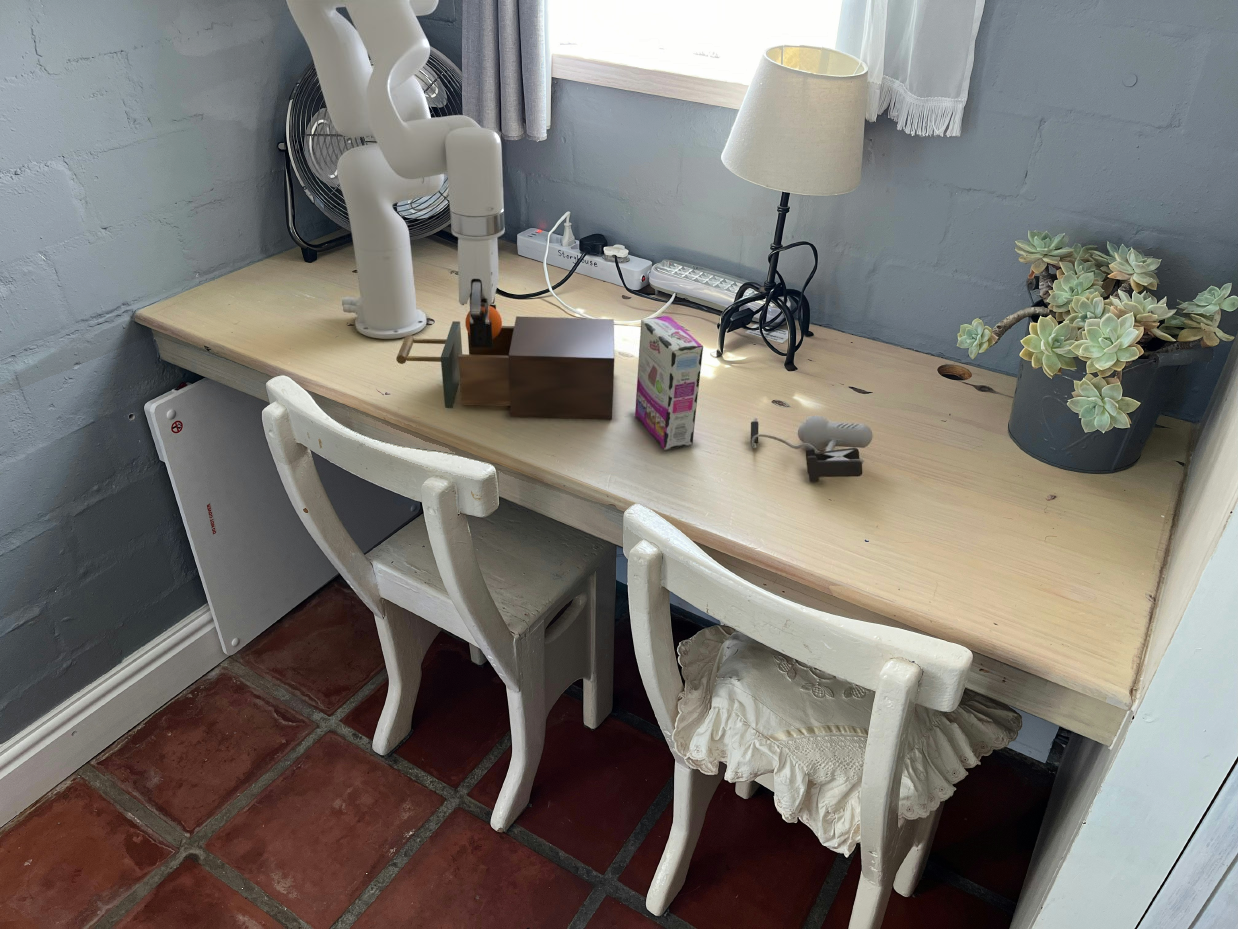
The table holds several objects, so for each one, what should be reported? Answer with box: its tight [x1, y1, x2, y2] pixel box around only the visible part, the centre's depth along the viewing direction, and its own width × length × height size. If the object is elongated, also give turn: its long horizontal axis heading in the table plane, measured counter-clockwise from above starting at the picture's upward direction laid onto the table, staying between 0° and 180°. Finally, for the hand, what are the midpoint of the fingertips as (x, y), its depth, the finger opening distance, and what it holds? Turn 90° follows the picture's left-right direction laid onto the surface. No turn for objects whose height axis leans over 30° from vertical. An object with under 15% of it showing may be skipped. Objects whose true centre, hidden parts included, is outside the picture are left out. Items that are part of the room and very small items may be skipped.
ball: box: [464, 306, 503, 339], centre depth 133 cm, size 6×6×6 cm
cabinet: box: [509, 315, 615, 421], centre depth 137 cm, size 16×14×11 cm
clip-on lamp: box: [750, 415, 873, 483], centre depth 126 cm, size 12×6×18 cm
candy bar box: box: [634, 315, 704, 451], centre depth 128 cm, size 11×5×16 cm, turn 23°
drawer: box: [395, 320, 514, 409], centre depth 137 cm, size 22×12×9 cm, turn 91°
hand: (484, 336), depth 134 cm, fingers closed on ball, 5 cm apart
